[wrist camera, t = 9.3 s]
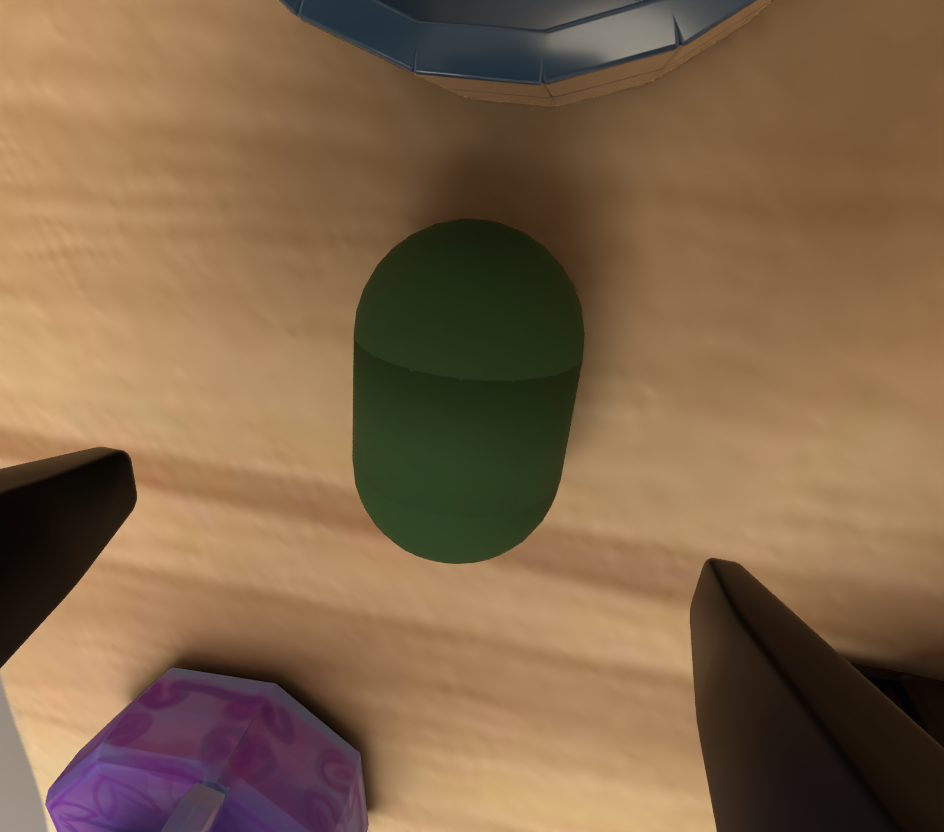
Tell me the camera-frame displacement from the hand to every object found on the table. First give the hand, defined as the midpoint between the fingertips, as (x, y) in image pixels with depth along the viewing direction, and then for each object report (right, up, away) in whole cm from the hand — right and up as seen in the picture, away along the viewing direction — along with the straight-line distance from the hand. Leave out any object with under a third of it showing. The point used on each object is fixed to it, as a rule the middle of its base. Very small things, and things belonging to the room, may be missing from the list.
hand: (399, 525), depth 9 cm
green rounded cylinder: (+2, +3, +7) cm, 8 cm away
